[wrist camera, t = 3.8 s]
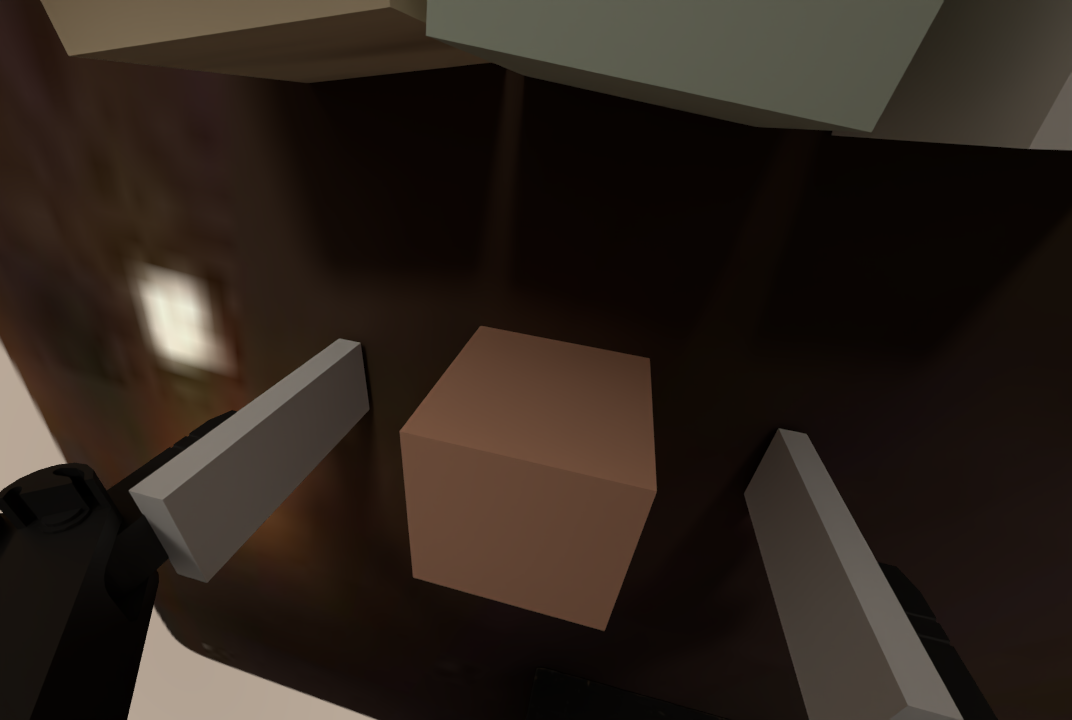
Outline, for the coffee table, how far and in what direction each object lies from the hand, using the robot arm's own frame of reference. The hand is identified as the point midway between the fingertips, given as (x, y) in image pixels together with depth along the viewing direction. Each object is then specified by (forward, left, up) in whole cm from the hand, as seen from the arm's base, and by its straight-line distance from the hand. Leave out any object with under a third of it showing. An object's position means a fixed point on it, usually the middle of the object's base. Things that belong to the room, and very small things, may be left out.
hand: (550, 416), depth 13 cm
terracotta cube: (0, 0, 0) cm, 0 cm away
